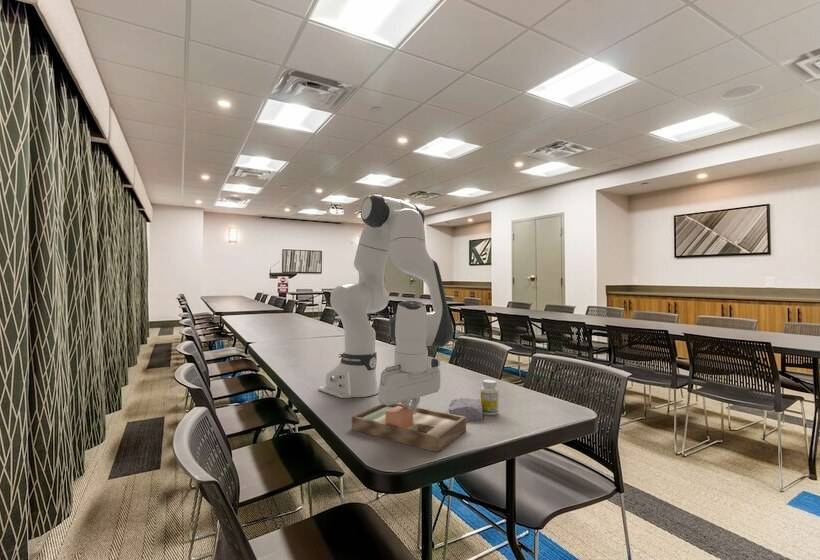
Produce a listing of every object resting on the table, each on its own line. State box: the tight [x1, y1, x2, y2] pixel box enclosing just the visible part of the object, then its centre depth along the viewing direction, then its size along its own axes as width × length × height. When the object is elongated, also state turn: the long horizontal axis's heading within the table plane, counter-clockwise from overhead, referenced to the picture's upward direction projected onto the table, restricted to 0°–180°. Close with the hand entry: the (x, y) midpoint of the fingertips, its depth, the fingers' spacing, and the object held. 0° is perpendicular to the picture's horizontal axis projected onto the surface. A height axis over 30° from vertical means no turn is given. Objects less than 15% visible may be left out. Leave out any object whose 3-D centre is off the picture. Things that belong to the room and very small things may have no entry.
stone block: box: [448, 397, 483, 421], centre depth 116 cm, size 12×5×10 cm
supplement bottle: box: [480, 379, 499, 416], centre depth 117 cm, size 5×5×10 cm
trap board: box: [351, 403, 467, 453], centre depth 102 cm, size 26×17×3 cm, turn 59°
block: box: [385, 406, 413, 428], centre depth 98 cm, size 5×5×4 cm
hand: (410, 414), depth 101 cm, fingers closed
